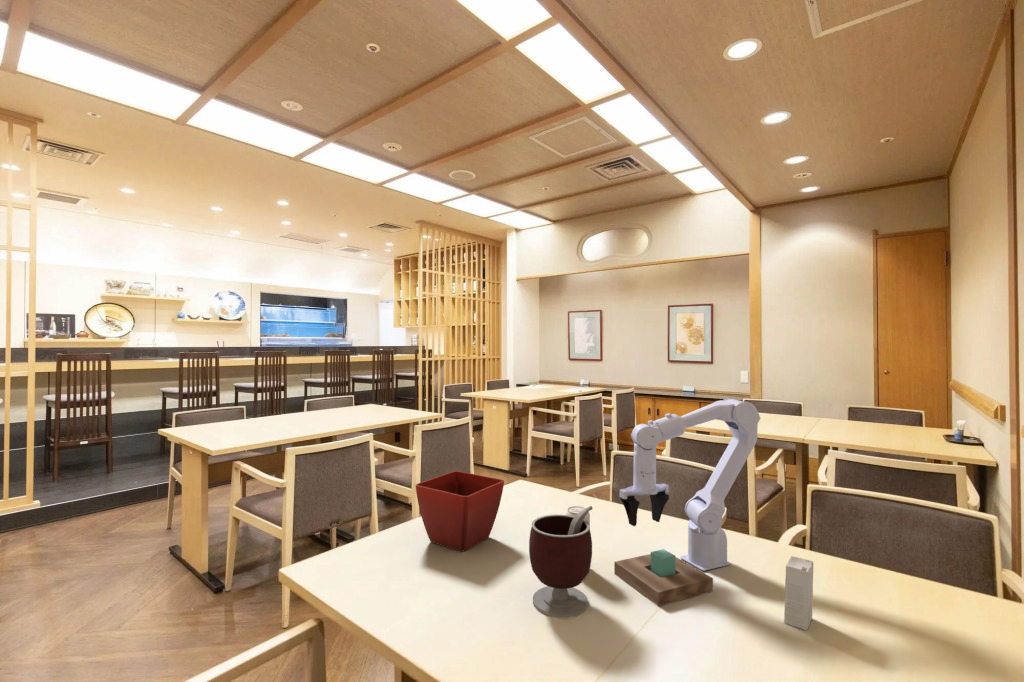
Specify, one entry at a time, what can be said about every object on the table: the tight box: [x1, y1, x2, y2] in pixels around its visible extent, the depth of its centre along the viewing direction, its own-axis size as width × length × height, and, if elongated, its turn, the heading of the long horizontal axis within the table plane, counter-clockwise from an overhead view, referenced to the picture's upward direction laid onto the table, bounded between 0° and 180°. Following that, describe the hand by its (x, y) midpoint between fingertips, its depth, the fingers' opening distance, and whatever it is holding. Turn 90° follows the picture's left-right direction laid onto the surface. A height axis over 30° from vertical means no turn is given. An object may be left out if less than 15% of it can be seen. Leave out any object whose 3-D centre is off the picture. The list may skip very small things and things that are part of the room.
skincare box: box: [783, 556, 814, 631], centre depth 99 cm, size 6×4×12 cm
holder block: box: [613, 553, 714, 607], centre depth 115 cm, size 16×16×3 cm
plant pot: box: [415, 470, 505, 552], centre depth 140 cm, size 19×19×17 cm
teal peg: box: [650, 548, 676, 578], centre depth 115 cm, size 4×4×7 cm
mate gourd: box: [528, 505, 593, 619], centre depth 106 cm, size 16×14×20 cm
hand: (644, 522), depth 125 cm, fingers open, 7 cm apart
